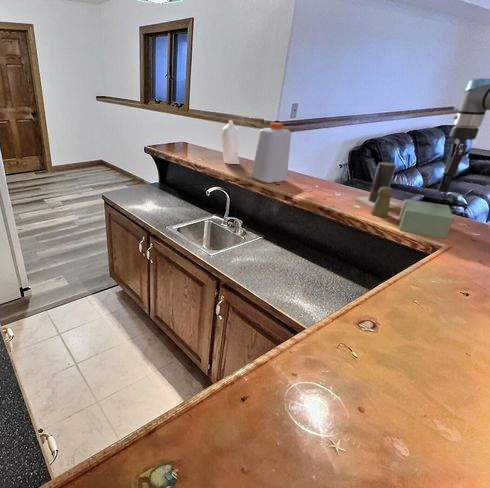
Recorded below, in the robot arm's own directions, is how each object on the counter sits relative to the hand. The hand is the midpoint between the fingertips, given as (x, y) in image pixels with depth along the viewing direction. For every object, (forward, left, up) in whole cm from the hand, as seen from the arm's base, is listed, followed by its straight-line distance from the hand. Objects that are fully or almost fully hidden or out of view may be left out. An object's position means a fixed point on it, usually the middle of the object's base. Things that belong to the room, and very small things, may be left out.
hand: (442, 191), depth 133 cm
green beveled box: (-9, +14, -10) cm, 19 cm away
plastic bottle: (+58, +43, -11) cm, 73 cm away
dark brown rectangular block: (+17, +12, -9) cm, 23 cm away
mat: (+17, +12, -10) cm, 23 cm away
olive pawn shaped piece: (+5, +20, -11) cm, 23 cm away
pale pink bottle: (+94, +52, -11) cm, 108 cm away
